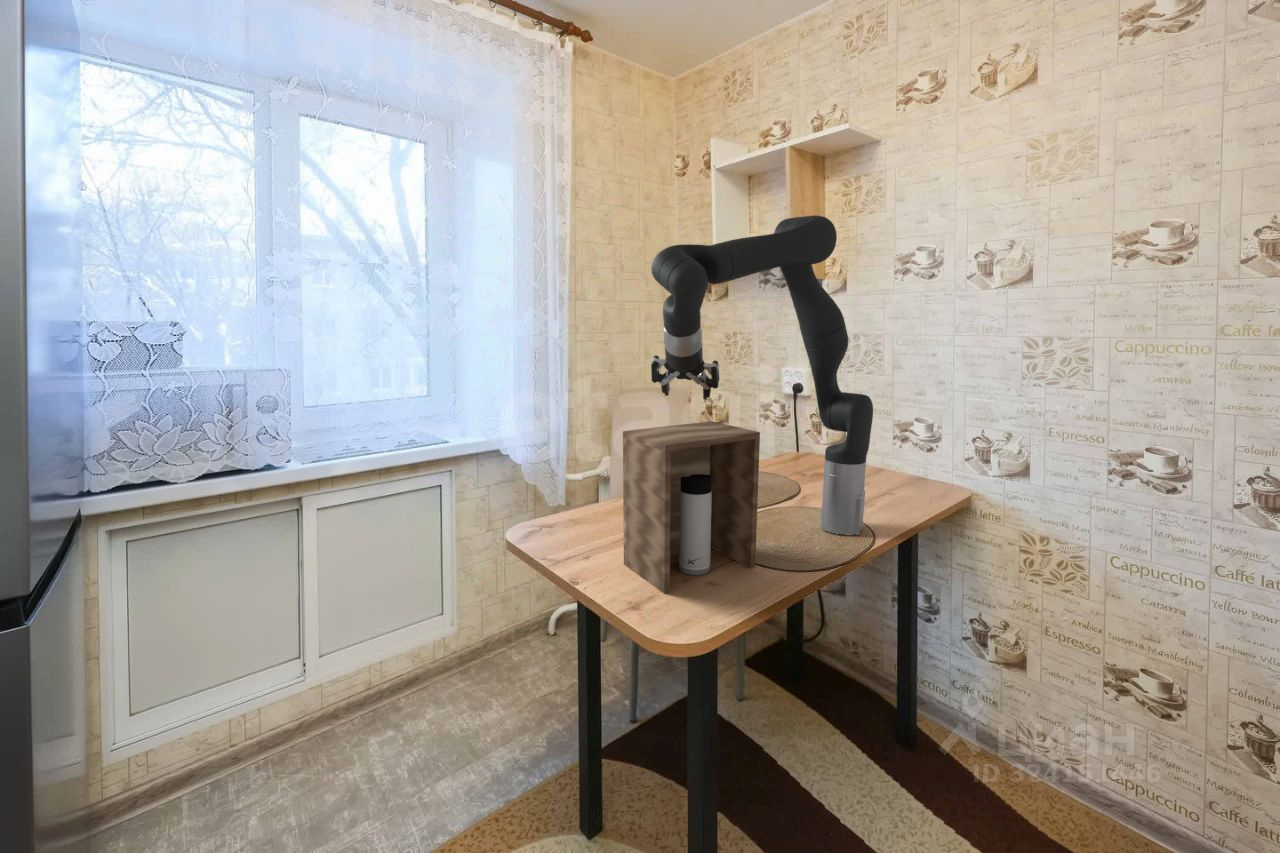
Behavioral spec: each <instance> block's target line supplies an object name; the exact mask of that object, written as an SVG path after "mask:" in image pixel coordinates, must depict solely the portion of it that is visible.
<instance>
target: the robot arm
mask: <svg viewBox="0 0 1280 853" xmlns="http://www.w3.org/2000/svg"><path fill="white" fill-rule="evenodd" d="M837 237H838V236H837V230H836V227H835V224H834V223H833V222H832V221H831V220H830V219H829V218H828V217H826V216H822V215H805V216H798V217H797V216H795V217H788V218H784V219H782V220H781V221H780V222H778V224H777V225H776V227H775V229H774V232H773V233H770V234H762V235H757V236H750V237H749V236H748V237H740V238H735V239H729V240H726V241H722V242H717V243H714V244H711V245H706V244H674V245H671V246H667V247H665V248H664V249H662V250H661V251H659V252H658V253H657V254H656V255H655V257H654V258H653V260H652V263H651V267H650V268H651V274H652V277H653V278H654V280H655V281H656V282H657V283H658V285H660V286H661V287H662V288H663V289H665V290H666V291H667V292H668V293H669V295H668V297H666V298H665V300H664V301H663V306H662V316H663V318H662V320H663V344H664V353H665V359H664V358H663V359H662V358H660V357H659V355H657V354H656V355H654V356H653V358H652V360H651V365H650V368H651V382H652V383H655V384H656V383H659V384H660V387H661V392H662V394H664V396H667V397H669V395H670V392H671V391H670V389H671V386H670V382H672V381H674V379H675V378H676V379H678V380H687V381H692V380H693V382H694V383H695V384H696V385H698V386H701V387H702V396H703V398H702V400H705V401H707V399H708V398H710V397H711V392H712V390H711V389H712V388H713V389H718V388H719V382H720V367H719V361H718V360H713V361H712V363H711V362H710V363H709V362H707V363H706V362H705V361H704V359H703V358H704V357H703V355H704V354H703V330H702V326H701V324H702V322H701V309H702V305H703V303H704V299H705V297H706V293H707V290H708V286H709V284H711V285H721V284H723V283H727V282H730V281H735V280H737V279H740V278H741V279H742V278H744V277H748V276H751V275H754V274H758V273H761V272H766V271H768V270H773V269H776V268H780V270H781V273H782V276H783V278H784V281H785V283H786V284H785V285H786V286H787V289H788V292H789V295H790V298H791V302H792V304H793V308H794V311H795V313H796V317H797V318H796V319H797V320H798V325H799V330H800V333H801V338H802V341H803V345H804V349H805V352H806V355H807V358H808V361H809V365H810V369H811V374H812V379H813V382H814V389H815V394H816V402H817V408H818V413H819V417H820V421H821V423H822V425H823V426H824V427H825V428H827V429H828V430H831V431H837V432H843V433H846V436H845V437H846V438H845V440H844V441H842V443H836V444H830V445H828V446H827V447H826V448H825V452H824V453H825V454H824V465H823V466H824V469H823V485H822V487H823V488H822V501H821V502H822V503H821V516H820V517H821V518H820V520H821V522H820V527H822V528H823V529H824V530H823V529H822V528H821V529H822V530H823V531H825V530H826V532H827V531H828V532H827V533H830V532H832V533H831V534H833V533H835V534H834V535H838V534H858V535H859V534H861V532H862V530H863V528H864V527H863V526H864V515H865V513H864V512H865V501H866V500H865V499H866V490H865V479H866V468H867V456H868V451H869V448H870V442H871V434H872V425H873V417H874V404H873V401H872V399H871V397H870V396H869V395H867V394H863V393H854V392H843V391H841V390H840V387H839V383H838V376H837V375H838V370H839V367H840V366H841V364H842V361H843V360H844V358H845V355H846V352H847V350H848V347H849V335H848V330H847V326H846V322H845V318H844V315H843V312H842V310H841V309H840V307H839V306H838V304H837V303H836V302H835V301H834V299H833V298H832V297H831V295H830V294H829V293H828V292H827V291H826V290H825V289H824V287H823V286H822V285H821V283H820V282H819V280H818V278H817V276H816V274H815V271H814V267H813V265H816V264H820V263H822V262H824V261H826V260H827V259H828V258H829V257H830V256H831V255H832V254H833V252H834V251H835V248H836V246H837V241H838V240H837ZM663 367H664V369H666V370H665V371H664V372H663V373H660V369H662V368H663ZM706 371H707V373H708V374H707V373H706ZM710 376H711V377H710ZM862 527H863V528H862ZM861 529H862V530H861ZM860 531H861V532H860ZM859 536H860V535H859Z"/></svg>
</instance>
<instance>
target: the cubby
mask: <svg viewBox="0 0 1280 853" xmlns="http://www.w3.org/2000/svg"><path fill="white" fill-rule="evenodd" d="M760 440H761V432H760V431H756V430H752V429H747V428H743V427H739V426H734V425H730V424H726V423H721V422H718V421H712V420H711V421H710V420H709V421H702V422H692V423H691V422H690V423H684V424H683V423H682V424H675V425H673V424H672V425H667V426H666V425H665V426H656V427H649V428H640V429H631V430H623V431H622V471H623V472H622V481H623V482H622V488H623V489H622V490H623V491H622V492H623V493H622V495H623V496H622V498H623V502H622V503H623V505H622V506H623V508H622V509H623V512H622V513H623V516H622V517H623V565H624V566H625V567H627V568H628V569H630V570H631V571H632V572H634V573H636V574H637V575H638V576H640V577H641V578H642V579H643V580H645V581H646V582H648V583H649V584H650V585H651V586H653V587H654V588H655V589H657V590H659V591H660V592H661V593H663V594H667V593H668V594H669V593H670V591H671V590H670V587H671V581H670V579H671V578H670V577H671V575H670V574H671V571H670V569H671V556H673V555H676V554H679V551H680V487H681V477H687V476H690V475H695V474H706V475H711V476H712V486H711V488H712V493H711V494H712V504H711V548H712V549H714V550H715V551H717V552H720V553H721V554H724V555H725V556H726V557H729V558H731V559H733V560H735V561H736V562H739V563H740V564H742V565H744V566H746V567H748V568H749V569H752V568H756V553H757V550H756V549H757V524H758V522H757V521H758V500H759V498H758V497H759V496H758V495H759V473H760V472H759V469H760V468H759V467H760V444H761V441H760Z"/></svg>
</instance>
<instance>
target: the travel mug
mask: <svg viewBox="0 0 1280 853" xmlns="http://www.w3.org/2000/svg"><path fill="white" fill-rule="evenodd" d="M711 486H712V476H711V475H706V474H695V475H690V476H687V477H681V487H680V551H679V553H678V554H679V557H678V558H679V560H678V562H679V564H678V566H679V570H680V572H682V573H684V574H686V575H689V576H702V575H705V574H708V573H709V572H710V570H711V548H712V547H711V504H712V494H711V493H712V488H711Z"/></svg>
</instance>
